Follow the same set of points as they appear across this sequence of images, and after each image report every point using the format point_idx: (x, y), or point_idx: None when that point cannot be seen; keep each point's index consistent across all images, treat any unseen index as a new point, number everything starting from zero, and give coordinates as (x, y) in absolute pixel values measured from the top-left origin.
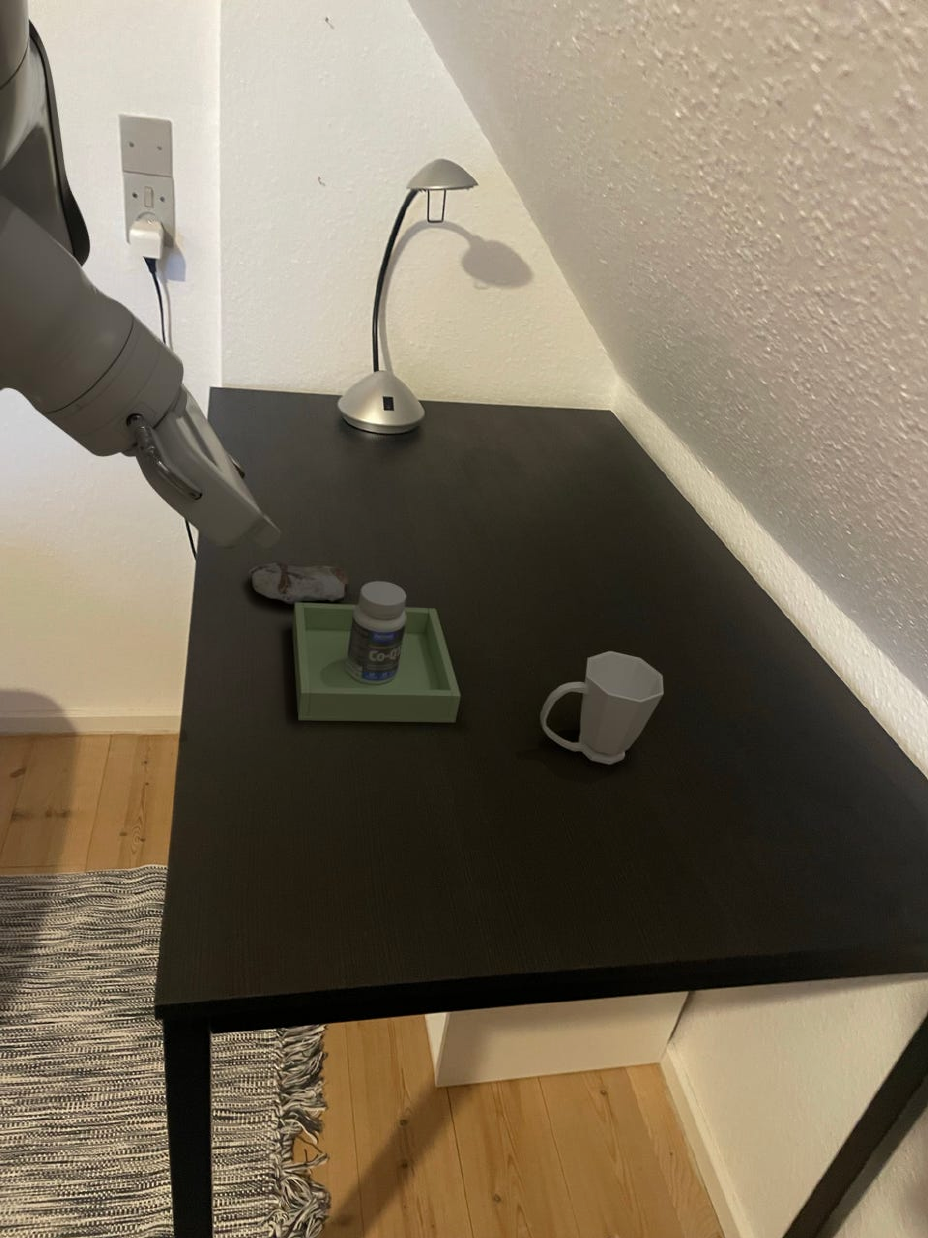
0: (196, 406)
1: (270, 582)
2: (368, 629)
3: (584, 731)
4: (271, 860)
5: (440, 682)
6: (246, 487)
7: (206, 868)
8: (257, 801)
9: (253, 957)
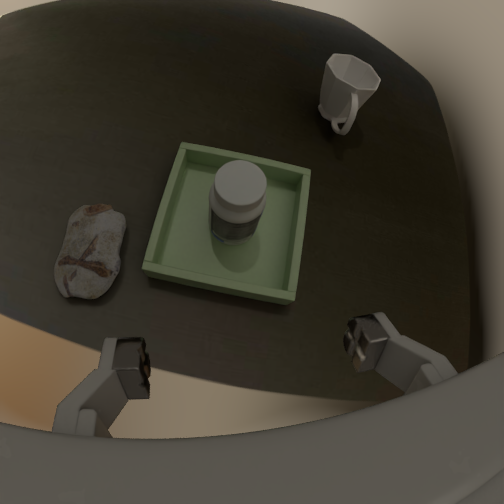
0: (29, 461)
1: (91, 281)
2: (259, 215)
3: (343, 114)
4: None
5: (266, 175)
6: (476, 382)
7: None
8: None
9: (456, 360)
